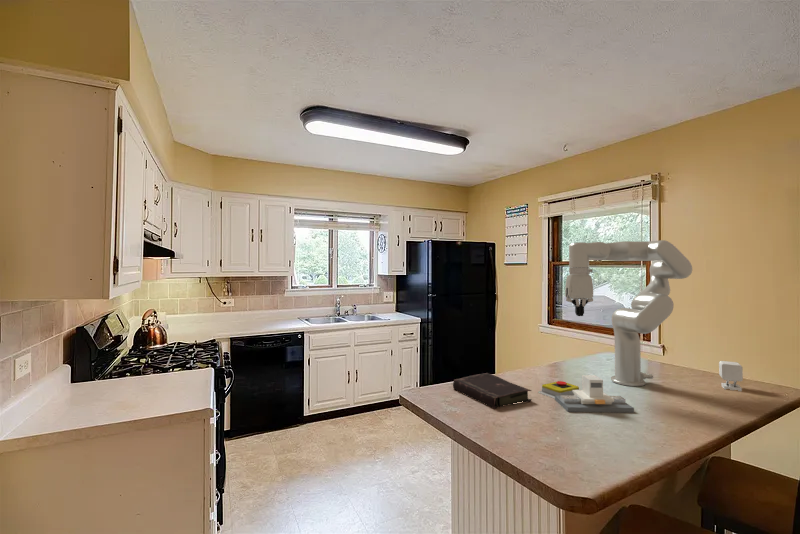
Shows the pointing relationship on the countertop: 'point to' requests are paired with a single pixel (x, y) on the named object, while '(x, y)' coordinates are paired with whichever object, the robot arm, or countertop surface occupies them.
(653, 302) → the robot arm
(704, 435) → the countertop surface
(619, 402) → the rail mount
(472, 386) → the diary
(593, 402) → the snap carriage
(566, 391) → the emergency button
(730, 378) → the security camera
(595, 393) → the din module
